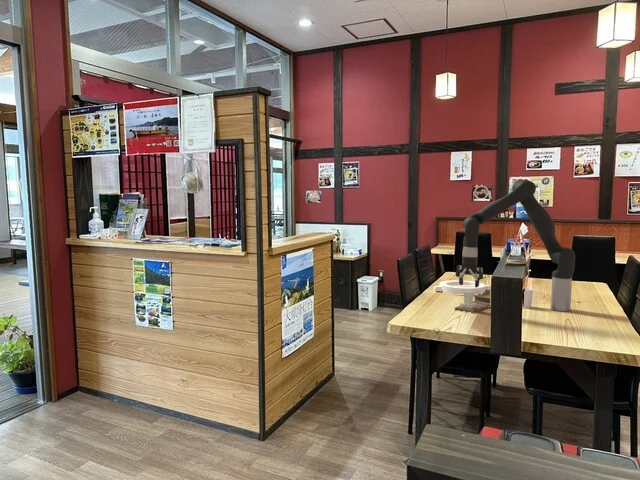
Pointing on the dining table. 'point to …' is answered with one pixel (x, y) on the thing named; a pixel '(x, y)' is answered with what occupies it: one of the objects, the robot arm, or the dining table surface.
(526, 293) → the white cup
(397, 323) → the dining table surface
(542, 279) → the dining table surface
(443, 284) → the ring with crossbar
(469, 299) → the block
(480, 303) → the rail
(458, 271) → the robot arm
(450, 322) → the dining table surface
